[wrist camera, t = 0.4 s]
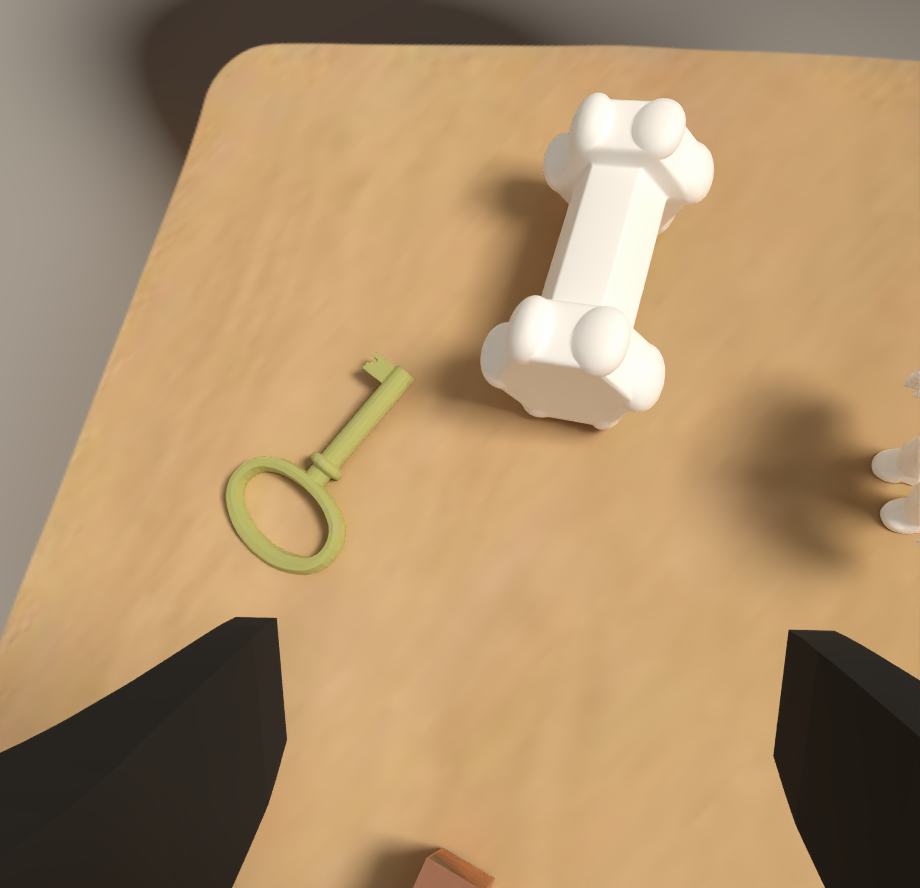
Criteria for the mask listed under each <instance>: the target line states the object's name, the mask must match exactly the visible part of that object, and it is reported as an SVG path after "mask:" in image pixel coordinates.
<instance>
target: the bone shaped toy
mask: <svg viewBox="0 0 920 888" xmlns="http://www.w3.org/2000/svg"><path fill="white" fill-rule="evenodd" d="M685 125H686V119H685V113H684V111H683V108H682V107H681V106H680V104H678V103H677V102H676V101H674V100H671V99H667V98H660V99H656V100H653V101H637V100H613V99H609V98H608V97H607V95H605V94H603V93H594V94H592V95H590V96H588V97H587V98H586V99H584V100H583V102H582V103H581V104H580V106H579V107H578V109H577V111H576V113H575V115H574V117H573V119H572V123H571V126H570V131H569V133H562V134H559V135H558V136H556V137H555V138H554V139H553V140H552V141H551V142H550V144H549V146H548V148H547V150H546V152H545V155H544V159H543V172H544V177H545V180H546V182H547V184H548V185H549V187H550V188H551V189H552V190H554V191H556V192H558V194H559V195H560V196H561V197H562V198H563V199H564V200H565V201H566V202H567V203H568V204H569V207H568V210H567V213H566V216H565V220H564V223H563V226H562V230H561V233H560V236H559V239H558V243H557V246H556V249H555V252H554V256H553V259H552V262H551V266H550V269H549V272H548V275H547V279H546V282H545V285H544V289H543V292H542V295H541V296H538V295H533V296H529V297H527V298H526V299H524V300H523V301H522V302H521V303H520V304H519V305H518V306H517V307H516V308H515V310H514V312H513V314H512V315H511V318H510V320H509V322H505V323H501V324H499V325H497V326H495V327H494V328H493V329H492V330H491V331H490V332H489V334H488V335H487V337H486V339H485V341H484V344H483V346H482V351H481V357H480V364H481V370H482V373H483V376H484V377H485V379H486V381H487V382H488V383H489V384H491V385H492V386H494V387H496V388H500V389H502V390H503V391H505V392H506V393H507V394H509V395H510V396H512V397H513V398H514V399H516V400H517V401H518V402H520V403H521V404H522V406H523V408H524V409H525V410H526V411H527V412H528V413H529V414H530V415H532V416H535V417H540V418H543V417H552V418H557V419H563V420H569V421H574V422H580V423H585V424H591V425H593V426H594V427H595V428H597V429H600V430H606V429H610V428H612V427H613V426H614V425H616V424H617V423H618V422H619V421H620V419H621V418H622V417H623V416H625V415H627V414H628V413H630V412H644V411H646V410H648V409H650V408H651V407H652V406H653V405H654V404H655V403H656V402H657V400H658V398H659V396H660V394H661V391H662V388H663V385H664V379H665V365H664V361H663V358H662V355H661V354H660V352H659V350H658V349H657V348H656V347H655V346H653V345H651V344H649V343H648V342H647V341H646V340H645V339H644V338H643V337H642V336H641V335H640V334H639V333H638V332H636V331H635V330H634V329H633V327H634V323H635V319H636V315H637V311H638V307H639V304H640V300H641V296H642V292H643V288H644V284H645V280H646V277H647V273H648V269H649V265H650V261H651V257H652V253H653V250H654V246H655V242H656V238H657V235H658V234H660V233H662V232H663V231H665V230H666V229H667V228H668V227H669V225H670V224H671V223H672V221H673V219H674V217H675V215H676V213H677V212H678V211H679V210H680V209H681V208H682V207H683V206H684V205H693V204H696V203H698V202H700V201H701V200H702V199H703V198H704V197H705V196H706V195H707V193H708V192H709V189H710V187H711V184H712V180H713V175H714V165H713V159H712V156H711V153H710V151H709V150H708V149H707V147H706V146H705V145H703V144H702V143H700V142H697V141H696V139H695V138H694V137H693V135H692V134H691V133H690V132H689V130H688V129H687V128H686V126H685Z"/></svg>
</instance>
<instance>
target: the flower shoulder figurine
mask: <svg viewBox="0 0 920 888" xmlns="http://www.w3.org/2000/svg"><path fill="white" fill-rule="evenodd" d="M904 387H906V388H911V387H912V388H914V389H918V390H917V391H915V392H914V393H913V394H912V396H913V397H914V398H919V397H920V370H918V371H916V372H914V373H913V374H911V375H910V376H908V377H907V379H906V381H905V384H904ZM871 466H872V471H873V473H874V474H875V475H876V476H877V477H878V478H880V479H882V480H883V481H886V482H890V483H899V482H903V483H906V484H909V485H916V487H915V488H914V489H913V490H912V491H911V492H910V493H909V495H908V496H907V498H898V499H894V500H891V501H889V502H888V503H886V504H885V505H884V506H883V507H882V508H881V510H880V517H881V520H882V522H883V524H884V525H885V526H886V527H887V528H888V529H890V530H892V531H894V532H897V533H901V534H913V533H920V434H919V435H917V436H916V437H914V438H913V439H911V440H910V441H908V442H906V443H905V444H904V445H903V446H902V447H901V448H897V449H887V450H884V451H881V452H879V453H878V454H877V455H876V456H875V457H874V458H873V460H872V464H871ZM917 544H918V545H919V546H920V538H918V539H917Z"/></svg>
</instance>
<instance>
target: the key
mask: <svg viewBox="0 0 920 888" xmlns="http://www.w3.org/2000/svg"><path fill="white" fill-rule="evenodd" d="M373 357H374V358H375V359H376V360H377V362H376V363H375V362H373V361H371V362H370V363H369V362H367V363H366V364H365V365H364V367H363V369H364V370H365V371H366V372H367V373H369V374H370V375H371V376H373V377H374V378H375V379H376V380H378V381H379V382H380V383H381V385H380V386H379V387H378V388H377V390H376V391H375V392H374V393H373V394H372V395H371V397H370V398H369V399H368V400H367V401H366V402H365V404H364V405H363V406H362V407H361V408H360V409H359V411H358V412H357V413H356V414H355V415H354V416H353V418H352V419H351V420H350V421H349V422H348V424H347V425H346V426H345V427H344V428H343V429H342V431H341V432H340V433H339V434H338V435H337V436H336V438H335V439H334V440H333V441H332V442H331V443H330V445H329V446H328V447H327V448H326V449H325V450H324V452H323V453H322V454H321V453H318V452H313V453H312V454H311V456H310V457H311V460H312V462H313V464H312V466H311V467H310V468H309V469H308V470H307V471H305V470H304V469H302V468H301V467H299V466H298V465H296V464H294V463H292V462H289V461H286V460H284V459H278V458H272V457H265V456H263V457H257V458H253V459H250V460H248V461H246V462H245V463H243V464H241V465H240V466H239V467H238V468H237V469H236V470H235V472H234V473H233V474H232V476H231V477H230V479H229V482H228V485H227V490H226V503H227V508H228V512H229V516H230V518H231V521H232V523H233V526H234V528H235V530H236V532H237V534H238V536H239V537H240V538H241V540H242V541H243V542H244V544H245V545H246V546H247V547H248V548H249V549H250V550H251V551H252V552H253V553H254V554H255V555H256V556H257V557H259V558H260V559H261V560H262V561H264V562H265V563H267V564H268V565H269V566H271V567H273V568H275V569H277V570H280V571H283V572H287V573H292V574H298V575H305V574H311V573H315V572H319V571H321V570H323V569H324V568H326V567H328V566H329V565H330V564H331V563H332V562H333V561H334V560H335V559H336V557H337V556H338V555H339V553H340V552H341V550H342V547H343V545H344V542H345V536H346V525H345V522H344V519H343V515H342V512H341V510H340V508H339V506H338V505H337V503H336V501H335V499H334V498H333V497H332V495H331V494H330V493H329V492H328V491H327V489H326V488H325V487H324V486H325V485H326V484H327V483H328V481H329V480H330V479H331V478H332V479H334V480H339V479H341V477H342V472H341V471H340V469H339V468H340V467H341V466H342V465H343V464H344V463H345V461H346V460H347V459H348V458H349V457H350V456H351V454H352V453H353V452H354V451H355V450H356V449H357V447H358V446H359V445H360V444H361V443H362V441H363V440H364V439H365V438H366V437H367V436H368V434H369V433H370V432H371V431H372V430H373V429H374V427H375V426H376V425H377V424H378V423H379V422H380V420H381V419H382V418H383V417H384V416H385V414H386V413H387V412H388V411H389V410H390V409H391V407H392V406H393V405H394V404H395V403H396V402H397V400H398V399H399V398H400V397H401V396H402V395H403V393H404V392H405V391H406V390H407V389H408V387H409V386H410V385H411V384H412V383H413V382H414V379H413V378H412V377H411V376H410V375H409V374H408V373H407V372H406V371H405V370H404V369H402V368H401V367H399V366H396V367H395V366H394V365H392V364H391V363H390V362H388V361H387V360H386V359H384V358H383V357H382V356H381V355H379V354H378V353H377V352H376V353H375V354H374V355H373ZM269 471H270V472H275V473H279V474H282V475H284V476H287V477H289V478H290V479H292V480H293V481H295V482H296V483H298V484H299V485H300V486H302V487H303V488H304V489H305V490H307V491H308V492H309V493H310V494H311V495H312V496H313V497H314V499H315V500H316V501H317V502H318V503H319V505H320V506H321V508H322V510H323V512H324V514H325V517H326V519H327V522H328V525H329V534H328V539H327V541H326V543H325V545H324V547H323V548H322V550H321V551H320V552H319V553H318V554H316V555H314V556H312V557H303V556H299V555H295V554H292V553H290V552H287V551H285V550H283V549H281V548H280V547H278V546H276V545H275V544H273V543H272V542H271V541H270V540H269V539H267V538H266V537H265V536H264V535H263V534H262V533H261V532H260V531H259V529H258V528H257V526H256V525H255V524H254V522H253V521H252V519H251V518H250V515H249V513H248V510H247V507H246V504H245V501H244V490H245V487H246V485H247V483H248V482H249V481H250V480H251V479H252V478H253V477H254V476H256V475H258V474H260V473H263V472H269Z"/></svg>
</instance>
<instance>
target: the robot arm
mask: <svg viewBox="0 0 920 888" xmlns="http://www.w3.org/2000/svg"><path fill="white" fill-rule="evenodd" d="M286 741H287V734H286V723H285V711H284V699H283V687H282V675H281V663H280V651H279V639H278V627H277V618H254V617H235V618H233V619H231V620H229V621H227V622H225V623H223V624H221V625H220V626H218V627H216V628H215V629H213V630H211V631H210V632H208V633H207V634H205V635H203V636H202V637H200V638H199V639H197V640H196V641H194V642H193V643H191V644H189V645H188V646H186V647H185V648H183V649H182V650H180V651H179V652H177V653H176V654H174V655H172V656H171V657H169V658H168V659H166V660H165V661H163V662H161V663H160V664H158V665H157V666H155V667H154V668H152V669H150V670H149V671H147V672H146V673H144V674H143V675H141V676H140V677H138V678H136V679H135V680H133V681H132V682H130V683H128V684H127V685H125V686H123V687H121V688H120V689H118V690H116V691H115V692H113V693H111V694H109V695H108V696H106V697H104V698H103V699H101V700H99V701H97V702H96V703H94V704H92V705H91V706H89V707H87V708H85V709H84V710H82V711H80V712H79V713H77V714H75V715H73V716H72V717H70V718H68V719H67V720H65V721H63V722H61V723H59V724H57V725H55V726H53V727H52V728H50V729H48V730H46V731H44V732H42V733H40V734H38V735H36V736H34V737H32V738H30V739H28V740H26V741H24V742H22V743H20V744H18V745H16V746H14V747H12V748H9V749H7V750H5V751H3V752H1V753H0V888H232V887H233V885H234V882H235V880H236V878H237V875H238V873H239V871H240V869H241V866H242V864H243V862H244V860H245V857H246V855H247V853H248V851H249V848H250V846H251V844H252V841H253V839H254V837H255V834H256V832H257V830H258V827H259V825H260V823H261V820H262V818H263V816H264V813H265V811H266V809H267V806H268V804H269V800H270V797H271V794H272V791H273V787H274V784H275V781H276V777H277V774H278V770H279V767H280V763H281V759H282V756H283V752H284V749H285V745H286ZM773 756H774V759H775V763H776V766H777V769H778V772H779V776H780V779H781V782H782V785H783V789H784V792H785V795H786V798H787V801H788V804H789V807H790V810H791V813H792V816H793V818H794V821H795V824H796V826H797V829H798V831H799V833H800V835H801V837H802V840H803V842H804V844H805V846H806V848H807V850H808V852H809V855H810V857H811V859H812V861H813V863H814V865H815V867H816V869H817V872H818V874H819V876H820V878H821V880H822V882H823V884H824V886H825V888H920V680H918V679H917V678H915V677H913V676H912V675H910V674H909V673H907V672H905V671H904V670H902V669H900V668H899V667H897V666H896V665H894V664H892V663H891V662H889V661H887V660H886V659H884V658H882V657H881V656H879V655H877V654H876V653H874V652H872V651H871V650H869V649H867V648H866V647H864V646H862V645H861V644H859V643H857V642H855V641H853V640H852V639H850V638H848V637H846V636H844V635H842V634H840V633H838V632H836V631H820V630H789V632H788V640H787V648H786V656H785V664H784V673H783V681H782V689H781V697H780V706H779V714H778V722H777V730H776V738H775V747H774V755H773Z"/></svg>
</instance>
